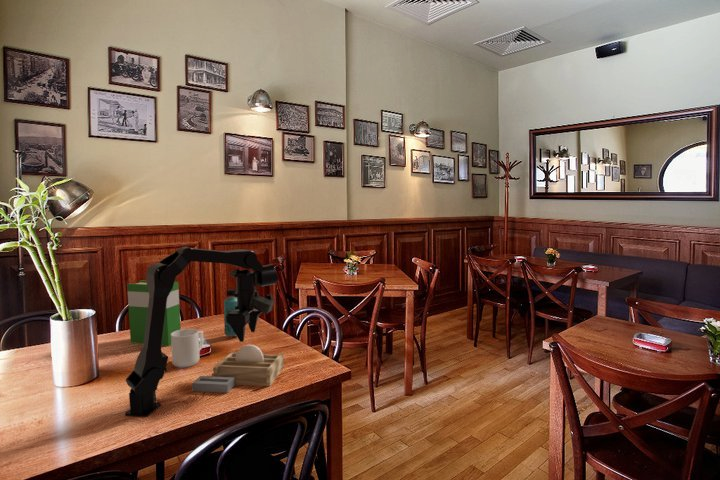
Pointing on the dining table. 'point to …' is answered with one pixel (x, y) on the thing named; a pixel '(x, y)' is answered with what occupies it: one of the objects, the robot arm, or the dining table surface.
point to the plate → (249, 354)
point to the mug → (186, 347)
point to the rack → (250, 369)
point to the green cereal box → (139, 309)
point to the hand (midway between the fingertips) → (247, 336)
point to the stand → (213, 384)
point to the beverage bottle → (229, 310)
